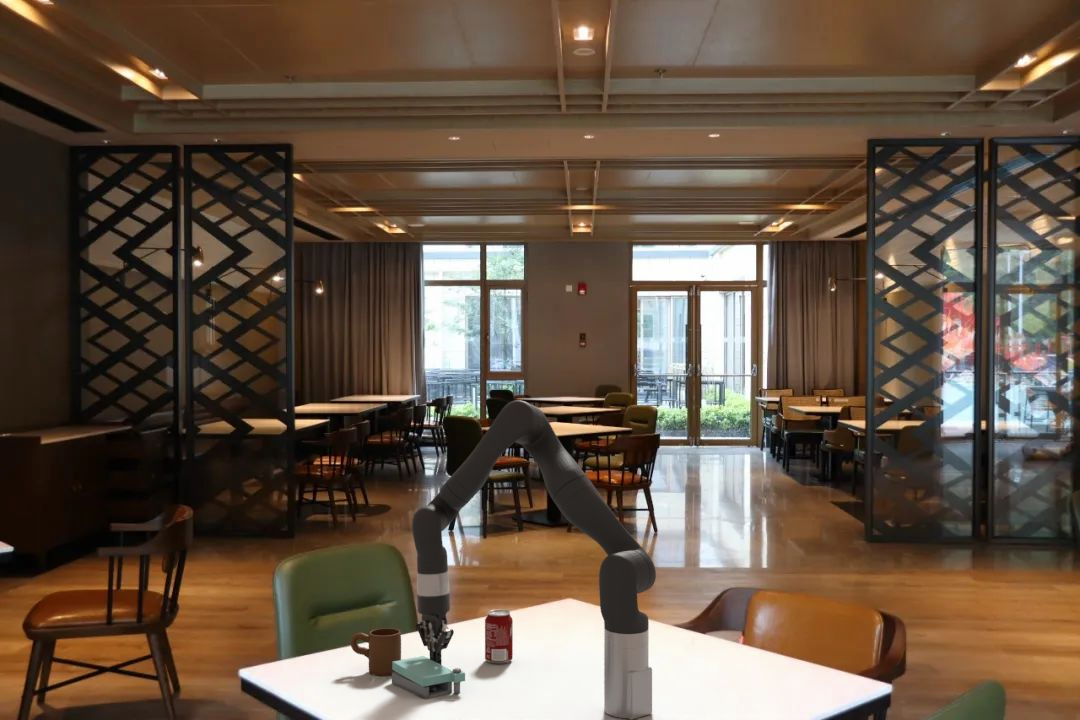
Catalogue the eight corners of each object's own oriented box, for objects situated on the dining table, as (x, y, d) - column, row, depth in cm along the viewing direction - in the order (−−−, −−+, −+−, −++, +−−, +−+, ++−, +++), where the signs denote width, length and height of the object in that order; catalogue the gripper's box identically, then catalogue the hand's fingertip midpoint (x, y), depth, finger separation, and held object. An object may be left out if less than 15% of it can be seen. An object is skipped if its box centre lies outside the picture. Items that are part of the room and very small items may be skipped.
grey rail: (461, 692, 213) (461, 681, 213) (428, 701, 208) (428, 689, 208) (423, 676, 225) (423, 665, 225) (391, 683, 220) (391, 672, 220)
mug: (346, 676, 225) (347, 636, 225) (353, 666, 233) (353, 627, 233) (398, 676, 225) (398, 636, 225) (403, 667, 232) (403, 627, 233)
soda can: (509, 666, 233) (509, 616, 233) (482, 664, 234) (482, 615, 235) (514, 658, 240) (514, 609, 240) (488, 656, 241) (488, 608, 241)
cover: (465, 680, 213) (465, 670, 213) (426, 688, 208) (426, 677, 208) (429, 662, 227) (429, 652, 227) (392, 669, 221) (392, 659, 221)
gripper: (462, 592, 221) (465, 669, 221) (431, 584, 231) (434, 657, 231) (435, 598, 216) (437, 676, 216) (404, 589, 227) (406, 664, 226)
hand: (435, 666), depth 224 cm, fingers closed
